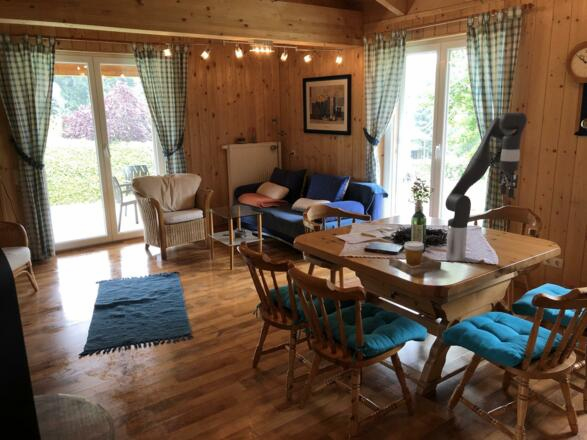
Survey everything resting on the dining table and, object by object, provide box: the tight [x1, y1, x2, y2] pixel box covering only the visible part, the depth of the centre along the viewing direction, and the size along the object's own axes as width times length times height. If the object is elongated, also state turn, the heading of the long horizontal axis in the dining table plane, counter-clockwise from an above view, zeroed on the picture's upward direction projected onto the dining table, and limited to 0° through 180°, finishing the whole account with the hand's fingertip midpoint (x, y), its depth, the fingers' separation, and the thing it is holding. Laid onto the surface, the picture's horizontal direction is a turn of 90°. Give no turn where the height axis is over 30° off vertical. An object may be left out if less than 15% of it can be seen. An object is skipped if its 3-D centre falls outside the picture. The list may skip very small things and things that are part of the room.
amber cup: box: [403, 240, 425, 266], centre depth 225 cm, size 10×10×12 cm
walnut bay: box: [388, 254, 442, 277], centre depth 225 cm, size 18×17×4 cm
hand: (506, 195), depth 208 cm, fingers open, 8 cm apart
